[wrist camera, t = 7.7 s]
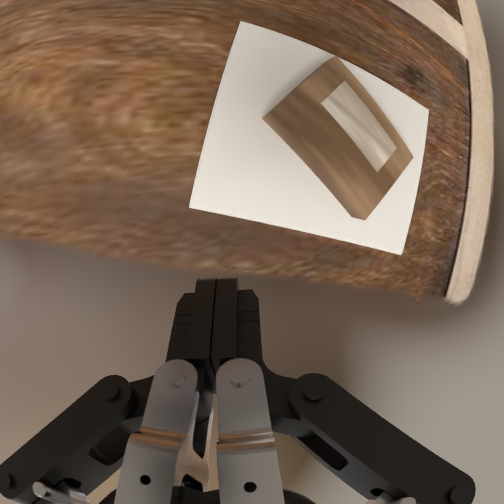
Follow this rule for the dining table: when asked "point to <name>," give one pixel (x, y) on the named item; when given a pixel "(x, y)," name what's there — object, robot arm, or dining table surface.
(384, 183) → the slab
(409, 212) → the mat
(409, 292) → the dining table surface
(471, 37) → the dining table surface
